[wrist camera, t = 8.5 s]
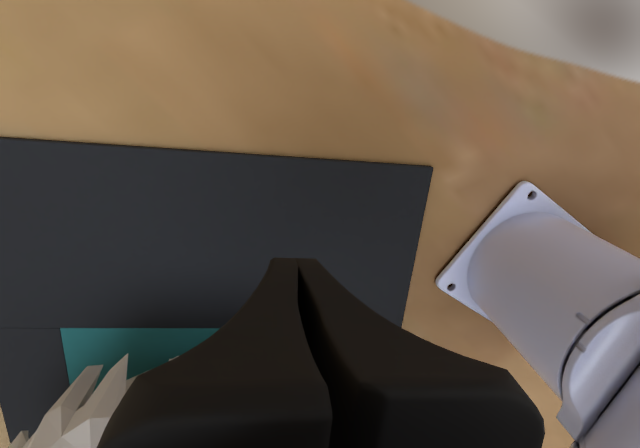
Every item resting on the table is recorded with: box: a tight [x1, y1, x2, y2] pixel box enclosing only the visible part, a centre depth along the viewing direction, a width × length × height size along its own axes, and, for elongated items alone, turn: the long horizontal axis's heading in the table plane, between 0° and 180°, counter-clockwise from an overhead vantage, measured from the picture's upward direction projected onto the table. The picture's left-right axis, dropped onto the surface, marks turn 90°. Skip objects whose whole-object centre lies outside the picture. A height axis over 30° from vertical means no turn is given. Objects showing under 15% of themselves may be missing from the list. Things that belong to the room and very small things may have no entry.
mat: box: [0, 137, 433, 443], centre depth 25 cm, size 31×24×1 cm
